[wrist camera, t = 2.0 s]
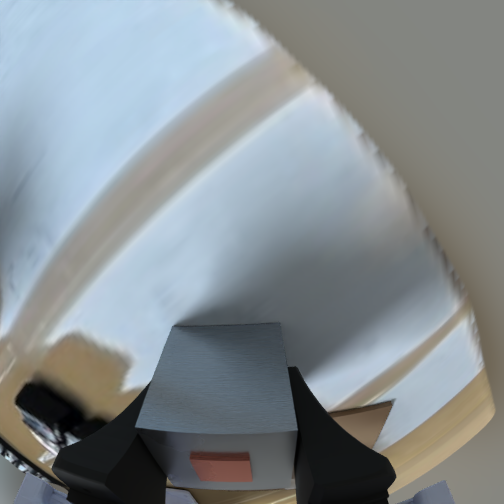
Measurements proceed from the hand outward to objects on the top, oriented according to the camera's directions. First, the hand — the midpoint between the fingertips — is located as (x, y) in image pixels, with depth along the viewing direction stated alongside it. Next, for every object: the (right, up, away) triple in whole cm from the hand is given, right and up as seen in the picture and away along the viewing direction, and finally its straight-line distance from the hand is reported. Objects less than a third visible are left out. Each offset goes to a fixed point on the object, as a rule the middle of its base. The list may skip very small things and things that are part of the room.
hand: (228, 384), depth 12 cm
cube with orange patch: (0, 0, +1) cm, 1 cm away
